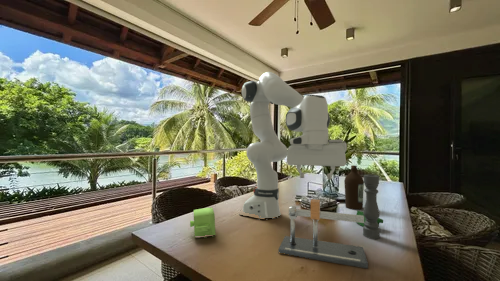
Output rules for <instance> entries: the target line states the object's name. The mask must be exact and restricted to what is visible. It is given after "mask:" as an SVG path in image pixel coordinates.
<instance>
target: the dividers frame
mask: <svg viewBox="0 0 500 281" xmlns="http://www.w3.org/2000/svg"><path fill="white" fill-rule="evenodd" d="M288 208H289V209H288V218H289V219H290V237H291V243H292V244H294V243H295V237H296V219H297V217H306V218H311V209H302V208H297V206H296V205H290V206H289V207H288ZM320 219H324V220H325V219H326V220H331V221H332V220H333V221H342V222H343V221H344V222H351V223H352V222H353V223H356V222H359V223H364V216H363V215H356V214H352V213H351V214H350V213H342V212H341V213H340V212H332V211H331V212H330V211H321V210H320Z"/></svg>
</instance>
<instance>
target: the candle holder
mask: <svg viewBox="0 0 500 281" xmlns="http://www.w3.org/2000/svg"><path fill="white" fill-rule="evenodd" d="M363 181H364V187H365V189H364V190H363V192H365V195H366V197H365V199H366V200H365V205H364V207H363V211H362V212H363V214H364V216H365V219H366V221H365V222H364V225H365V226H362V231H363V232H362V236H363V237H365V238H367V239H371V240H378V239H380V238H381V235H380V234H381V228H380V223H379V224H378V223H377V219H378V218H380V210H379V205H378V202H377V197H378V196H377V195H378V193H379V190H378V187H379V184H380V175H376V174H375V175H374V174H363Z"/></svg>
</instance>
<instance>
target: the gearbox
mask: <svg viewBox="0 0 500 281" xmlns="http://www.w3.org/2000/svg"><path fill="white" fill-rule="evenodd" d="M215 216H216V214H215V211H214V208H213V207H204V208H198V209H193V220H189V226H190V228H192V227H193V229H194V230H193V231H194V237H195V236H205V235H215V236H216V222H215V221H216V217H215Z"/></svg>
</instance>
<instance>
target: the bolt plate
mask: <svg viewBox="0 0 500 281" xmlns="http://www.w3.org/2000/svg"><path fill="white" fill-rule="evenodd" d="M279 252H280V253H285V254H289V255H288V256H291V255H294V256H293V257H297V256H299V257H298V258H303V257H305V258H304V259H308V258H309V260H315V261H321V262H326V263H327V262H328V263H333V264H338V265H345V266H350V267H351V266H352V267H355V268H357V267H358V268H362V269H367V270H368V269H369V263H368V259H367V256H366V253H365V249H364V247H363V246H359V245H353V244H352V245H351V244H345V243H344V244H343V243H338V242H331V241H323V240H318V246H317V247H314V246H313V239H309V238H303V237H302V238H301V237H296V236H295V243H294V244H292V243H291V236H288V235H285V236H284V237H283V239H282V241H281V244H280V245H279V247H278V253H279ZM285 254H284V255H285Z"/></svg>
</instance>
